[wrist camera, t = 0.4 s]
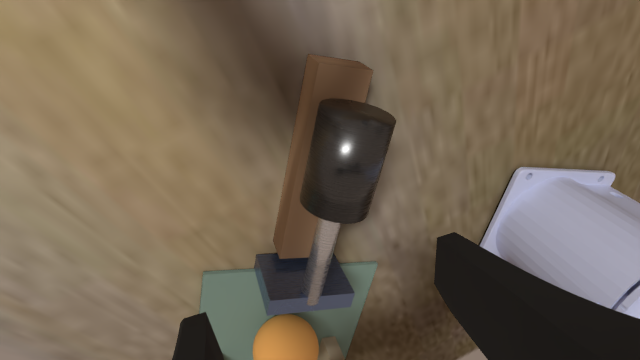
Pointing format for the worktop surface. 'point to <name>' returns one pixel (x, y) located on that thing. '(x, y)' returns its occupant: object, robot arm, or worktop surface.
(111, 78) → the worktop surface
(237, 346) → the mat
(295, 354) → the ball
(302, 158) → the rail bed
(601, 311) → the robot arm
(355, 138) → the dark grey round-headed part
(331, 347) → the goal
